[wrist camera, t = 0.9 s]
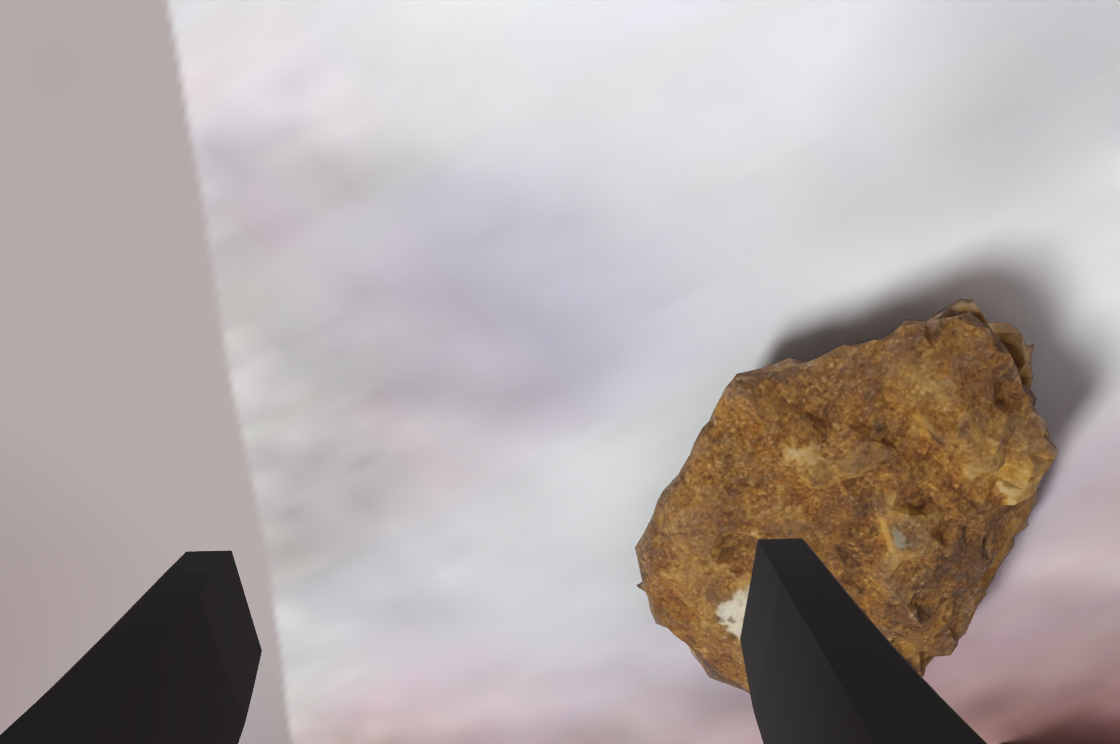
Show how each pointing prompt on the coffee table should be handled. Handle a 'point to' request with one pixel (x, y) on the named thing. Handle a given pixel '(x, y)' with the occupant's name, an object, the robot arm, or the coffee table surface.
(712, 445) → the decorative rock
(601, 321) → the coffee table surface
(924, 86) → the coffee table surface
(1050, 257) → the coffee table surface
